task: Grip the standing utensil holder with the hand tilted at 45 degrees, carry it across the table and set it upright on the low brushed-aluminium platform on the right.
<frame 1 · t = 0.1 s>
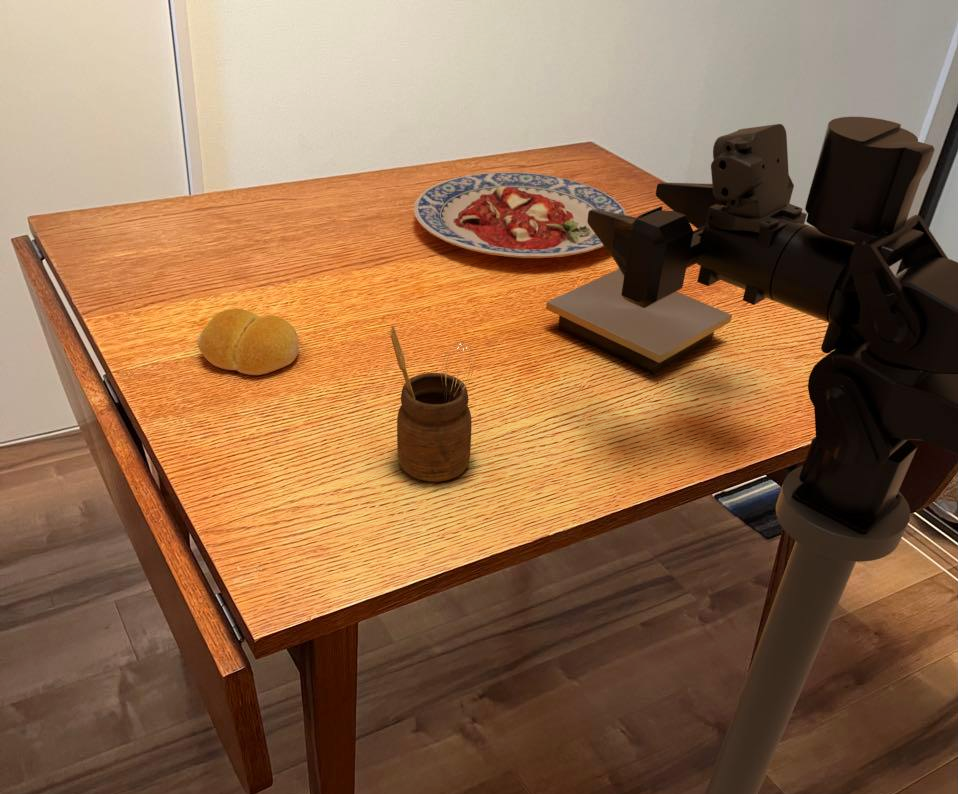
hand: (624, 202, 76), 17 cm above the table, tool horizontal, fingers open, 9 cm apart
utensil holder: (432, 464, 75), on the table
ceramic plate: (519, 229, 112), on the table
platform: (634, 335, 93), on the table
bread roll: (250, 356, 87), on the table
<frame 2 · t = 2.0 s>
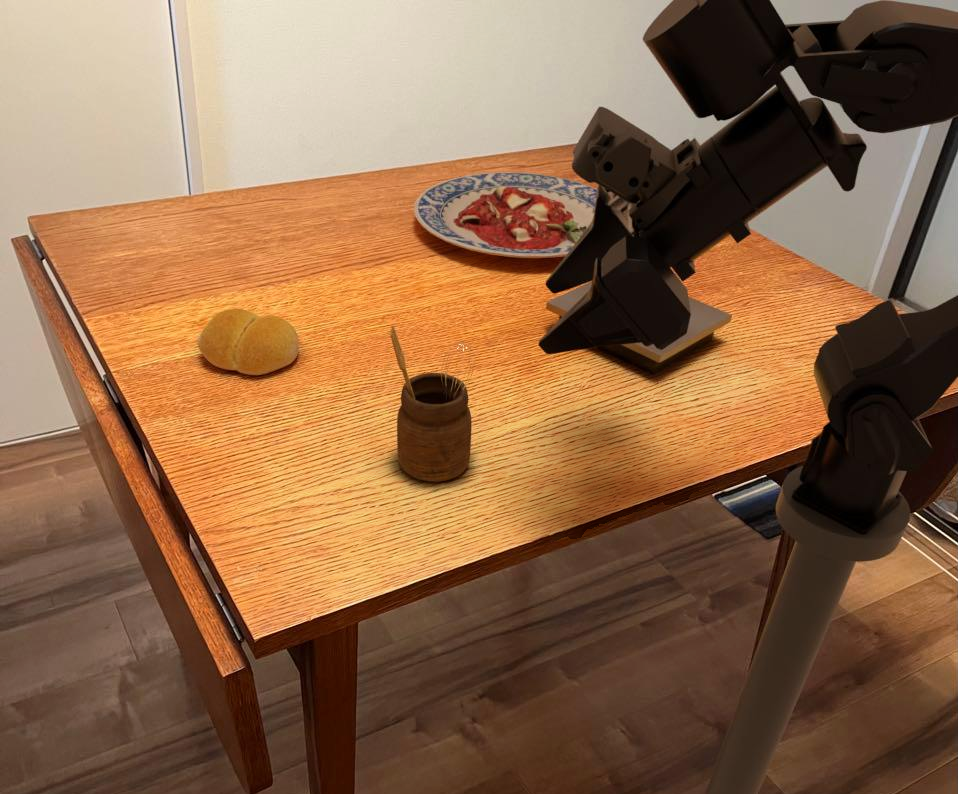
hand: (545, 316, 66), 14 cm above the table, tool tilted 45°, fingers open, 9 cm apart
nothing on the table moved.
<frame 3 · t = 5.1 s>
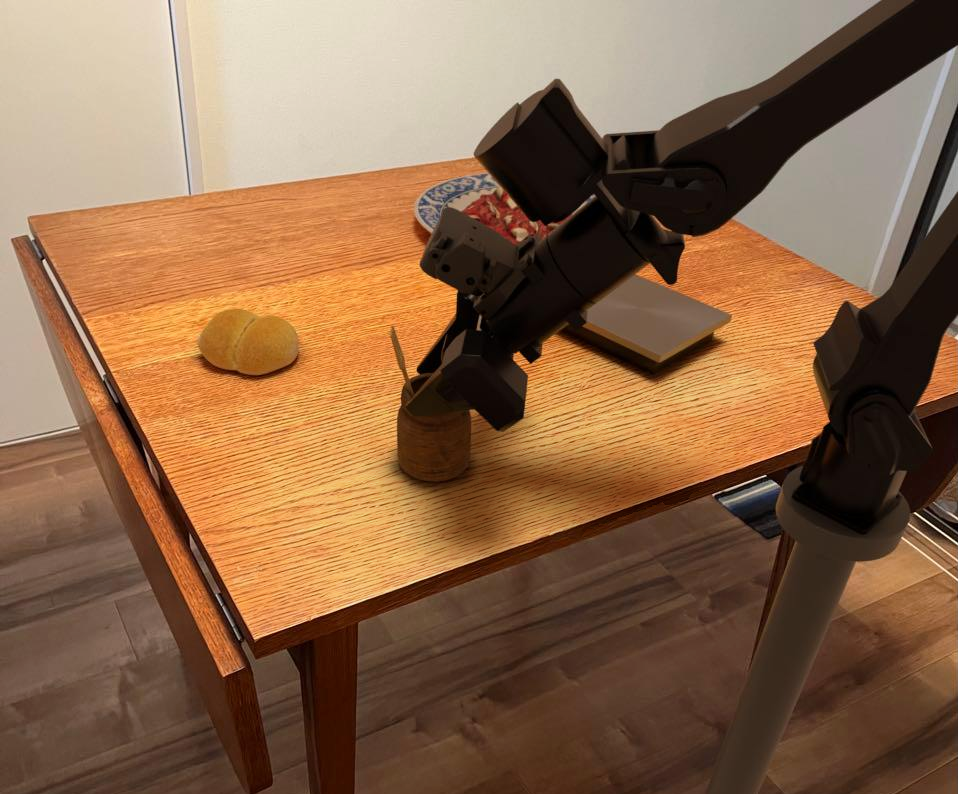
hand: (415, 392, 71), 7 cm above the table, tool tilted 45°, fingers closed on utensil holder, 5 cm apart
utensil holder: (432, 464, 75), on the table, touching gripper
everything else where it was.
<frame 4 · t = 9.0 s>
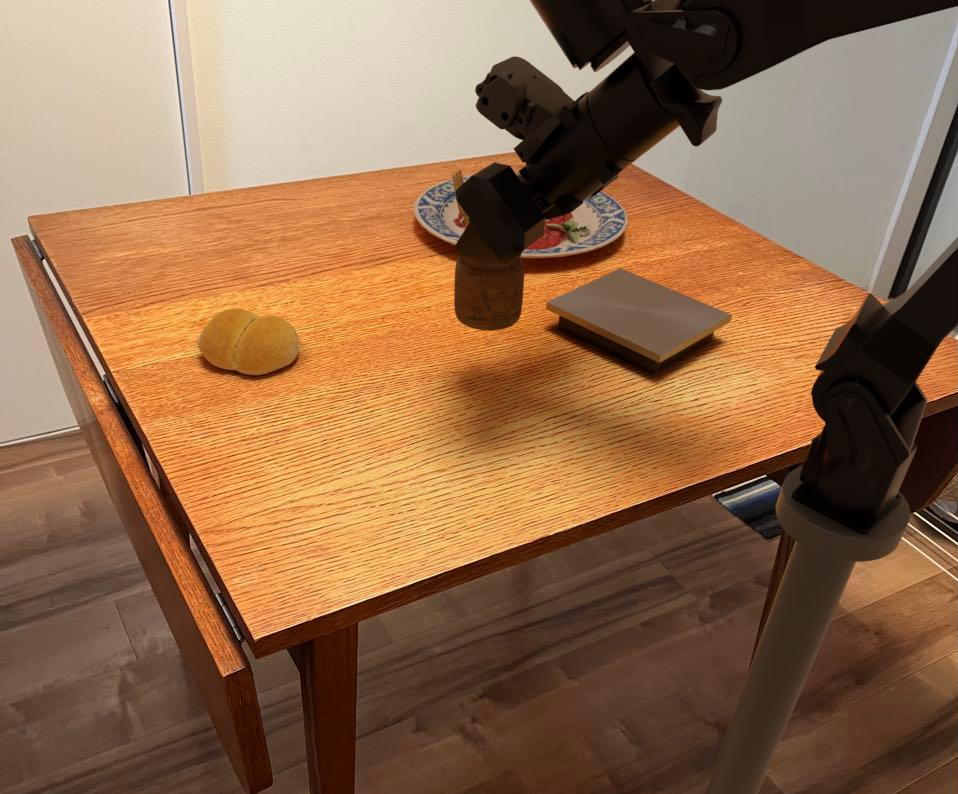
hand: (475, 240, 77), 13 cm above the table, tool tilted 45°, fingers closed on utensil holder, 5 cm apart
utensil holder: (486, 318, 80), point 7 cm above the table, touching gripper
everything else where it was.
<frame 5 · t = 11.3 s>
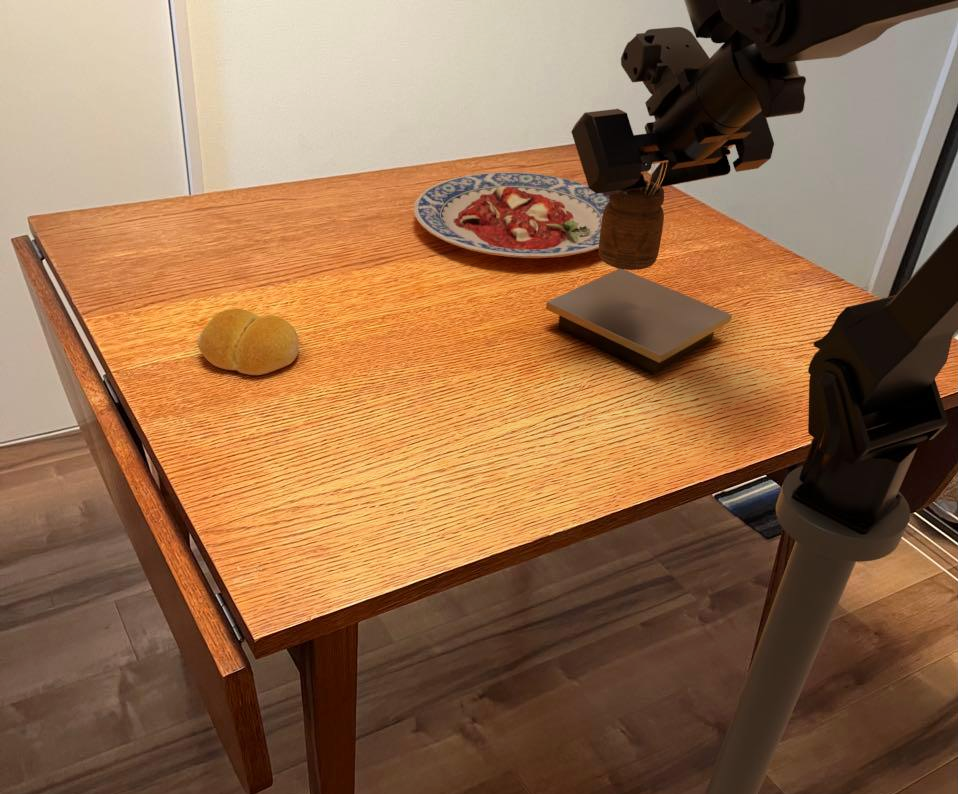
hand: (628, 187, 88), 13 cm above the table, tool tilted 45°, fingers closed on utensil holder, 5 cm apart
utensil holder: (625, 260, 91), point 6 cm above the table, touching gripper
everything else where it was.
when the fingers open (10 cm above the table, at t = 12.8 s): utensil holder stays where it is, resting on platform.
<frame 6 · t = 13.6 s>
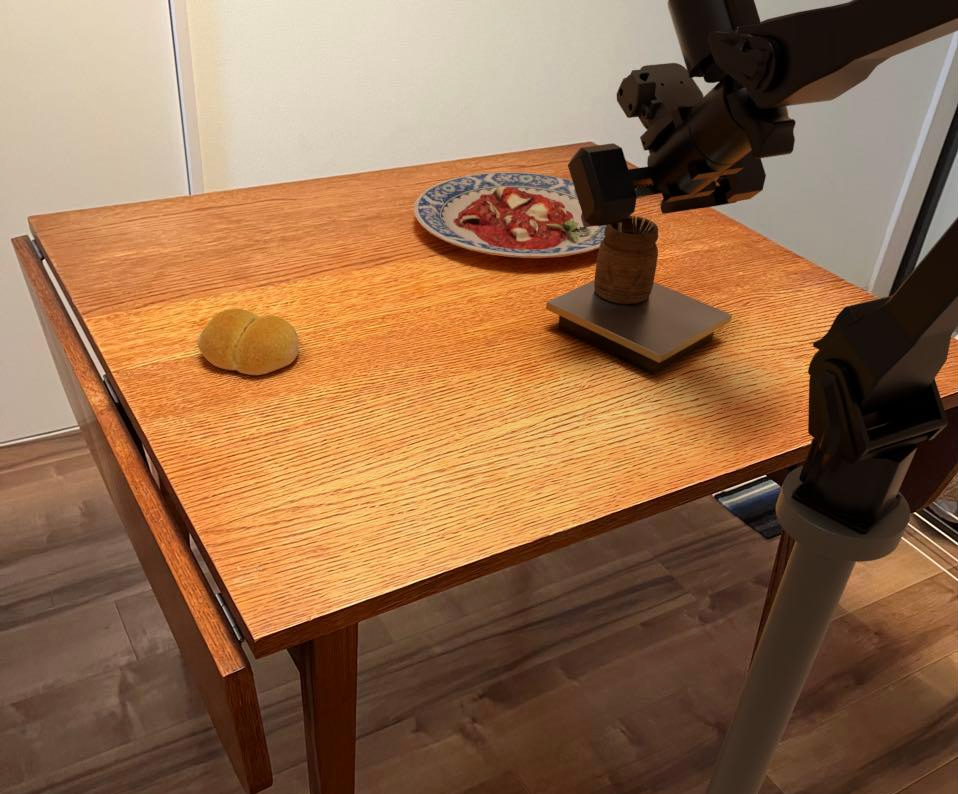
hand: (623, 215, 89), 10 cm above the table, tool tilted 45°, fingers open, 9 cm apart
utensil holder: (620, 293, 93), point 3 cm above the table, touching platform
everything else where it was.
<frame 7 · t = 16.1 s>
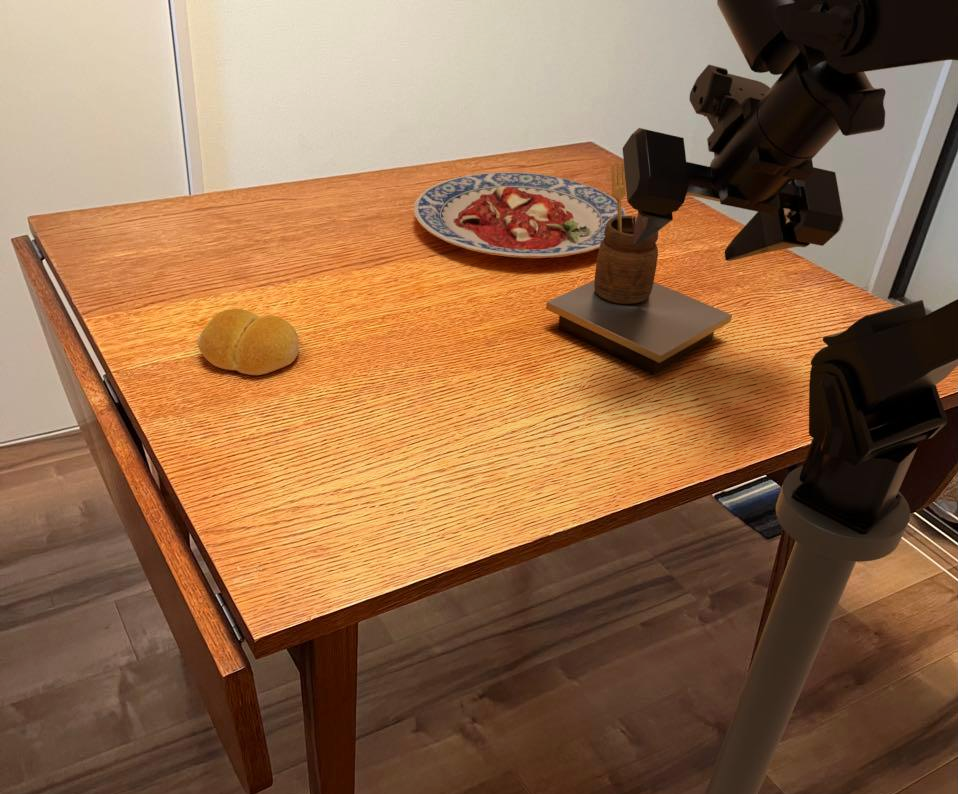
hand: (681, 248, 81), 11 cm above the table, tool tilted 35°, fingers open, 9 cm apart
nothing on the table moved.
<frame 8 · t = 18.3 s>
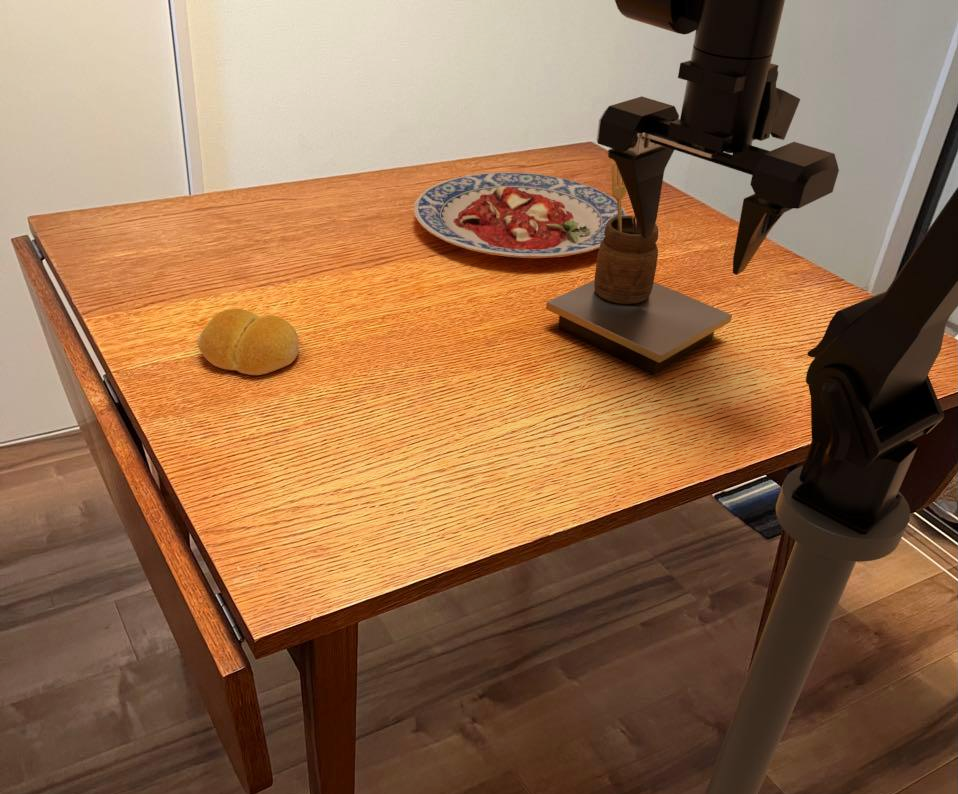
hand: (690, 254, 77), 13 cm above the table, tool pointing down, fingers open, 9 cm apart
nothing on the table moved.
at the end: utensil holder inside the target area on the platform (3.7 cm from its centre), point 2.8 cm above the platform's base; utensil holder tilted 0°; the gripper is holding nothing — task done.
